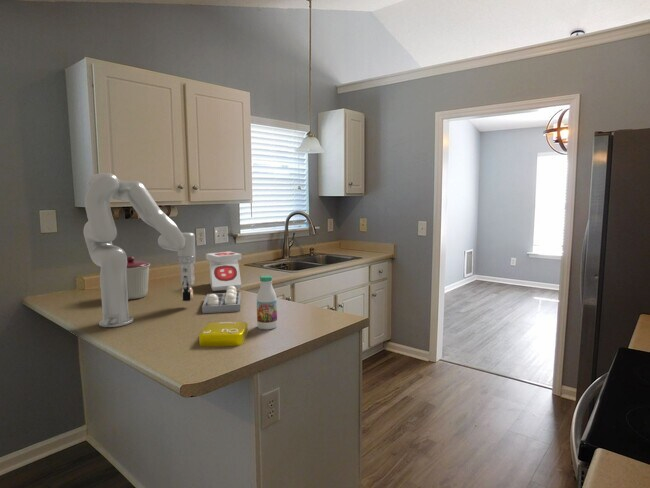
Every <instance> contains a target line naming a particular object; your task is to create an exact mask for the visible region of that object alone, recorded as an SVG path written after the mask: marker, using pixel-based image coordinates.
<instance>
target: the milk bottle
mask: <svg viewBox="0 0 650 488" xmlns="http://www.w3.org/2000/svg"><path fill="white" fill-rule="evenodd" d="M259 277H260V278H259V283H260V285H259V286H260V288H259V290H258V292H257V295H256V322H257V323H256V325H257V328H258V329H259V330H273V329H276V328H277V326H278V300H277V299H278V298H277V294H276V292H275V289H274V286H273V277H272V275H261V276H259Z"/></svg>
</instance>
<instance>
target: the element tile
mask: <svg viewBox="0 0 650 488" xmlns="http://www.w3.org/2000/svg"><path fill="white" fill-rule="evenodd" d="M248 326H249V325H248V322H246V321H224V322H223V321H221V322H220V321H218V322H217V321H213V322H208V323H207V324H206V325H205V326H204V327H203V328H202V330H201V331H200V332H199V334H198V341H199V342H198V343H199V345H198V346H200V347H230V346H231V347H234V346H238V347H239V346H241V345H243V344H244V342H245V340H246V338H247V336H248V334H249V332H248V329H249V327H248Z"/></svg>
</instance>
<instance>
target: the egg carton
mask: <svg viewBox="0 0 650 488" xmlns="http://www.w3.org/2000/svg"><path fill="white" fill-rule="evenodd" d="M237 290H238V289H236V288H235V287H234V286H229V287H228V288H227V290H226V292H223V293H222V292H221V293H218V292H217V293H207V294H206V295H205V298H204V301H203V302H202V303H203V304H202V306H201V312H202V313H201V314H213V313H229V312H241V308H242V307H241V303H242V292H241V291H240V292H237Z"/></svg>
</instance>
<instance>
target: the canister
mask: <svg viewBox="0 0 650 488" xmlns="http://www.w3.org/2000/svg"><path fill="white" fill-rule="evenodd" d="M150 266H151V263H149V262H147V261H145V260H144V261H143V260H135V257H134V256H131V255H130V256H127V268H126V279H127V293H128V300H137V299H141V298H144V297H146V295H147V294H148V291H149V276H150V275H149V274H150Z"/></svg>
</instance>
